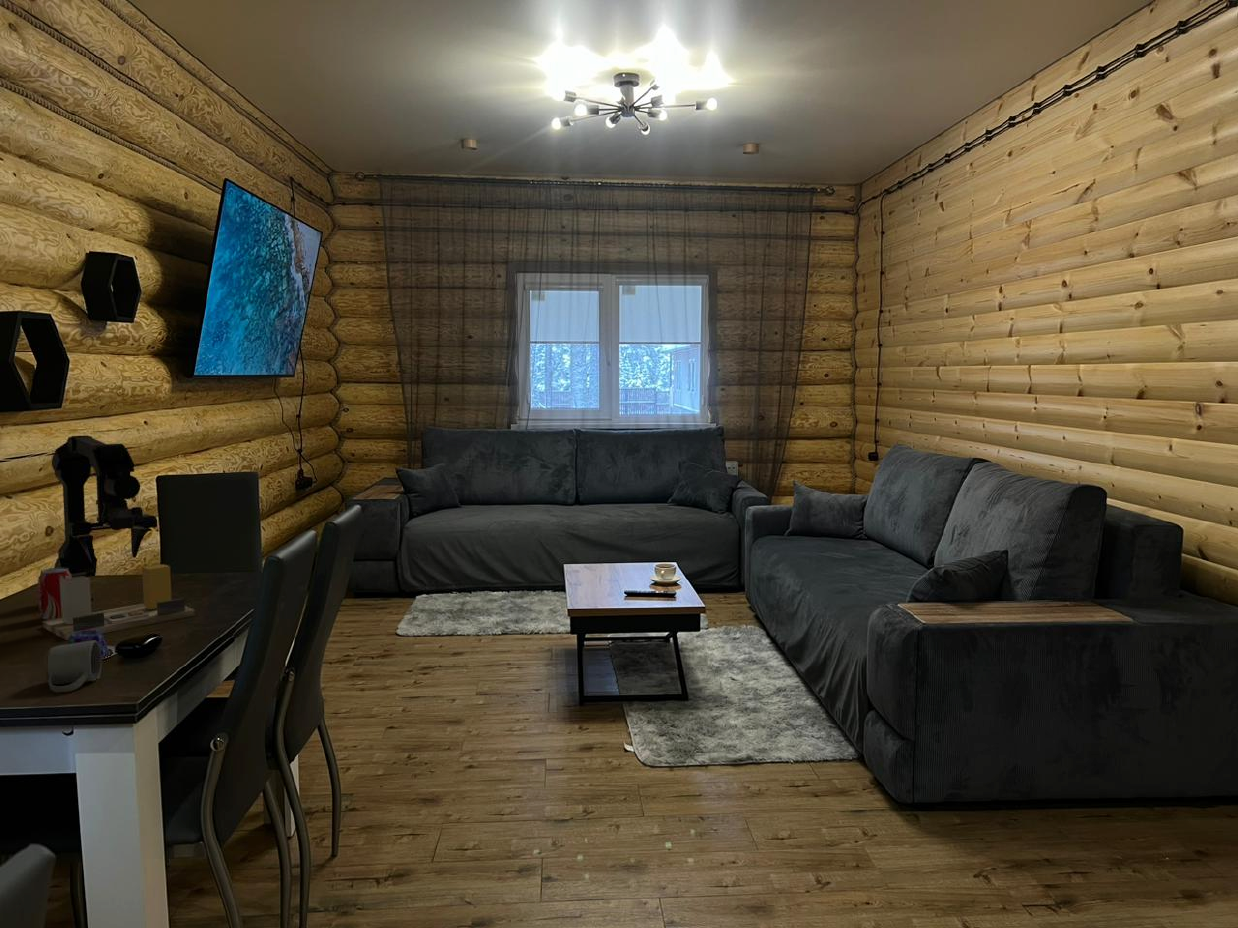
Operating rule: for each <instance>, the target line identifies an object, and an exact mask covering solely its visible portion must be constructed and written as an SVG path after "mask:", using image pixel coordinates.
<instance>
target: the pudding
mask: <svg viewBox="0 0 1238 928" xmlns="http://www.w3.org/2000/svg"><path fill="white" fill-rule="evenodd" d="M92 640H95V641H97V642H98V644H99V646H100V650H101V658H102V657H104V656H105V655H106V656H105V658H102V659H101V660H105V659H107V658H110V657H112V656H114V655H117V653H115V647H116V646H114V645H107V642H106V640H105V638H104V633H101V632H100V631H98V630H87V631H80V632H77V633H73V634H72V635H71V636H70V637H69V640H67V644H73V643H80V642H86V641H92ZM108 649H111V650H112V652H113V654H112V655H111V656H108V655H107V654H109V655H110V652H109V651H108ZM107 656H108V657H107Z"/></svg>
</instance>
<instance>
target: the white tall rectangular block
mask: <svg viewBox="0 0 1238 928" xmlns="http://www.w3.org/2000/svg"><path fill="white" fill-rule="evenodd" d="M60 597H61V614H62V622H64V623H66V624H67V625H69V624H73V617H79V616H85V615H90V614H92V613H93V612H92V600H91V597H92V596H91V581H90V577H85V576H80V577H73V578H66V579H60Z"/></svg>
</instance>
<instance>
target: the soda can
mask: <svg viewBox="0 0 1238 928" xmlns="http://www.w3.org/2000/svg"><path fill="white" fill-rule="evenodd" d="M68 570H69V569H68V568H54V567H51V568H45V569H42V570H40V575H39V577H38V579H37V590H38V606H39V613H40V615H39V616H40V619H43V620H44V621H46V620H53V619H59V618H62V614H61V597H60V579H66V578H72V575H71V574H70V572H69V571H68Z"/></svg>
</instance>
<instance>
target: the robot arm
mask: <svg viewBox="0 0 1238 928" xmlns="http://www.w3.org/2000/svg"><path fill="white" fill-rule="evenodd" d="M51 466H52V469H53V471H54V476H55V477H56V479H57V480H58V481H59V482H60V484H61V485H62V497H63V498H62V499H63V521H64V522H63V523H64V541H63V543H62V544H61V546H60V547H59V549H58V552H57V557H58V558H56V560H55V562H54V566H53V568H68V569H69V570H68V571H69V572H70V574H71V575H72V578H73V577H80V576H85V577H87V578H90V577H96V573H97V563H98V558H97V557H96V555H95V549H94V544H93V542H94V541H93V540H94V535H92V534H91V533H92V532H93V531H100V530H102V531H103V530H110V529H111V530H113V531H119V530H124V529H128V530H130V540H131V541H130V544H131V545H130V546H131V554H132V558H133V559H134V558H136V557H137V556H138V553H139V549H140V547H141V544H142V541H143V540H144V538H145V535H147V533H148V532H152V530H153V529H152V528H157V527H158V526H159V525H158V518H157V517H156V516H155V515H151V514H148V513H146V514H145V513H143V508H142V507H141V506H136V507H135V506H134V507H131V508H129V507H128V502H127V500H130V499H131V500H132V499H134V498H135V497H136V496H137V495H138V494H139V493H140V490H141V483H140V482H139V480H138V478H136V477H135V476H134V475H131V473H134V472H135V463H134V460H133V459H132V456H131V454H130V452H129V450H128V448H126V446H125V445H124V444H123V443H105V442H103V441H100V440H98V439H95V438H94V437H93V436H90V435H71V436H68V438H67V440H66V442H64V443H63V444H62V445H60V446H59V447H57V448H56V449H55V450H54V453H53V455H52V458H51ZM92 468H93V471H94V472H95V474H94V476H95V477H96V478H95V479H96V482H95V483H96V498H97V499H95V505H97V516H96V521H97V522H90V521H87V520H86V509H85V507H86V506H85V484H86V482H87V481H88V479H89V478H90V477H91V475H92V474H91V473H92ZM93 600H94V597H92V596H91V601H93Z"/></svg>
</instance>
